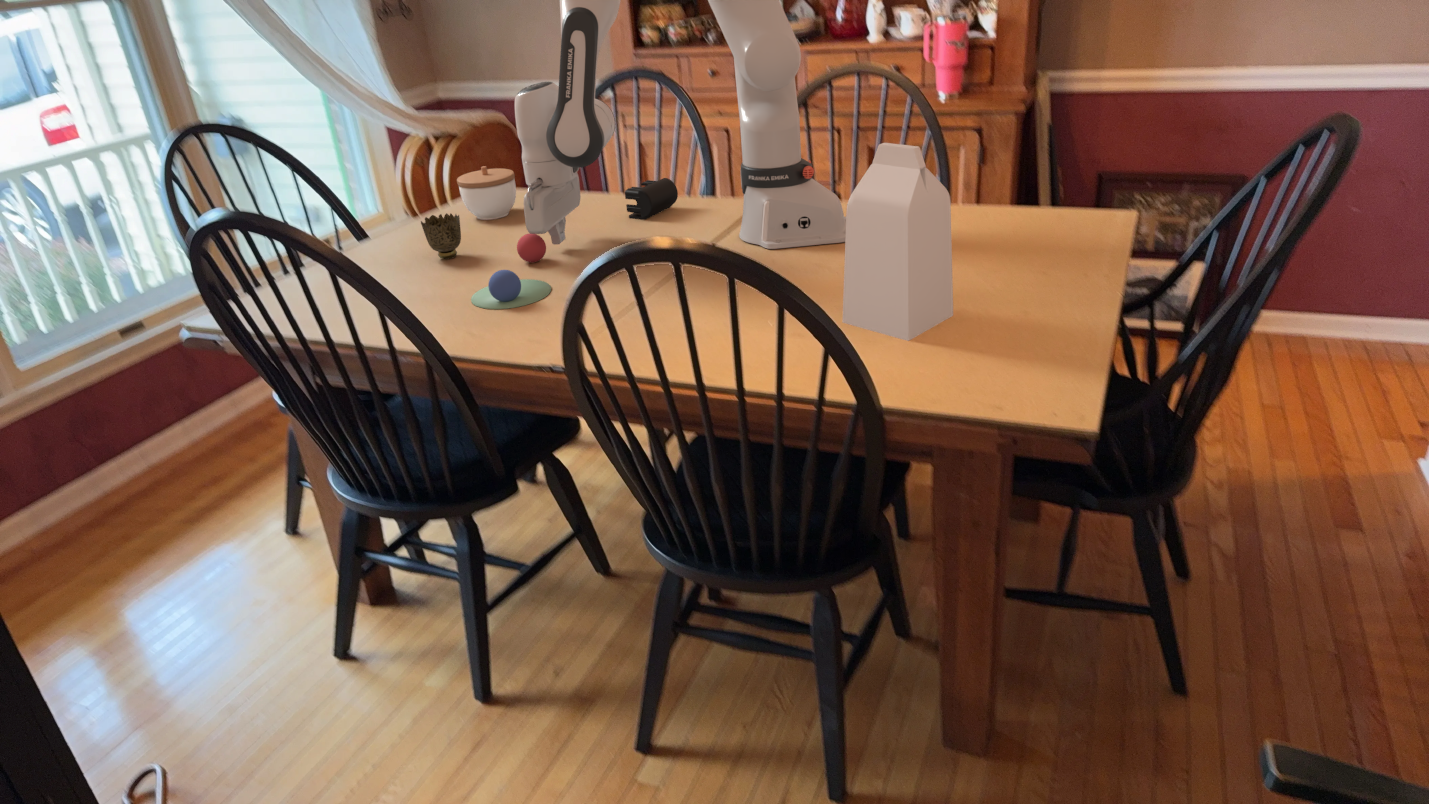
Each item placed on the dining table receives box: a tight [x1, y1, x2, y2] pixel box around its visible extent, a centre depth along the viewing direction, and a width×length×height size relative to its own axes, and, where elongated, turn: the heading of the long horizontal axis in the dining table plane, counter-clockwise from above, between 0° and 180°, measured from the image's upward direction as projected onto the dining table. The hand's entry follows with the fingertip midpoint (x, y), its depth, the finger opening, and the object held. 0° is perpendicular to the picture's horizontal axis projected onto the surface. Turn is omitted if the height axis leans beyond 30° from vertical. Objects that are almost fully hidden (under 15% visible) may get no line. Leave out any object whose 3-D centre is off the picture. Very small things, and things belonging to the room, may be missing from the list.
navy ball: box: [487, 269, 521, 302], centre depth 164 cm, size 6×6×6 cm
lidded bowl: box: [456, 165, 517, 221], centre depth 213 cm, size 13×13×11 cm
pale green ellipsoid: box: [470, 278, 552, 310], centre depth 168 cm, size 14×14×1 cm
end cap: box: [624, 177, 679, 221], centre depth 205 cm, size 10×7×7 cm
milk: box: [842, 142, 954, 342], centre depth 138 cm, size 12×12×26 cm
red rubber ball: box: [516, 232, 547, 263], centre depth 182 cm, size 6×6×6 cm
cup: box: [420, 213, 462, 260], centre depth 188 cm, size 8×7×8 cm
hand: (559, 242), depth 188 cm, fingers closed
